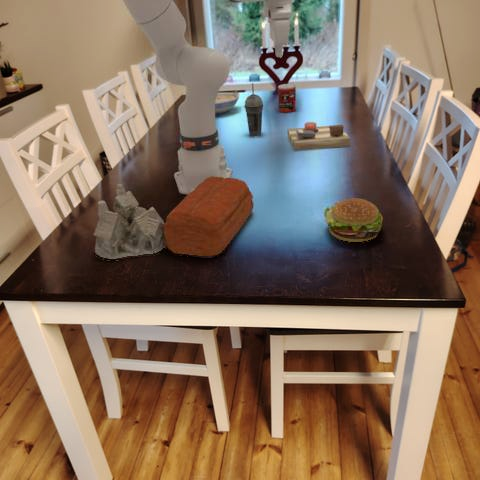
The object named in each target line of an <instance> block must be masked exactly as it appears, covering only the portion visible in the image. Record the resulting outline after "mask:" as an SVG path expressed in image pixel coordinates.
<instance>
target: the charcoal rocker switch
mask: <svg viewBox="0 0 480 480" xmlns="http://www.w3.org/2000/svg"><path fill="white" fill-rule="evenodd" d="M296 133H297V135H298V136H301V137H315V133H314V131H311V130H297V132H296Z"/></svg>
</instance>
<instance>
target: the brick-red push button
mask: <svg viewBox="0 0 480 480" xmlns="http://www.w3.org/2000/svg"><path fill="white" fill-rule="evenodd" d="M316 127H318V126H317V122H313V121H311V122H310V121H309V122H305V123H304V128H305V130H311V131H314V132H315V131H316Z"/></svg>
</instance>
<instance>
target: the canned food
mask: <svg viewBox="0 0 480 480" xmlns="http://www.w3.org/2000/svg"><path fill="white" fill-rule="evenodd" d="M296 95H297V92H296V85H295V84H293V83H283V84H280V85H278V87H277V98H278V99H277V101H278V104H277V105H278V111H279V113H282V114H290V113H294V112H295V111H296V110H297V109H296V107H297V106H296V102H297V99H296Z"/></svg>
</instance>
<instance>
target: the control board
mask: <svg viewBox="0 0 480 480" xmlns="http://www.w3.org/2000/svg"><path fill="white" fill-rule="evenodd" d="M330 126H331V125H325V126H324V125H323V126H321V125H320V126H316V131H315V132H314V133H315V137H301V136H298V135H297V133H296V132H297V130H305V127H298V128H287V129H286V130H287V139H288V142H289V143H290V146H291V147H292V150H293V151H294V152H295V151H296V152H297V151H308V150H309V151H310V150H319V149H320V150H321V149H333V148H345V147H351V137H350V136H349V135H348V134H347V132H346V131H345V130H344V129H343V135H332V136H331V135H330Z"/></svg>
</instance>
